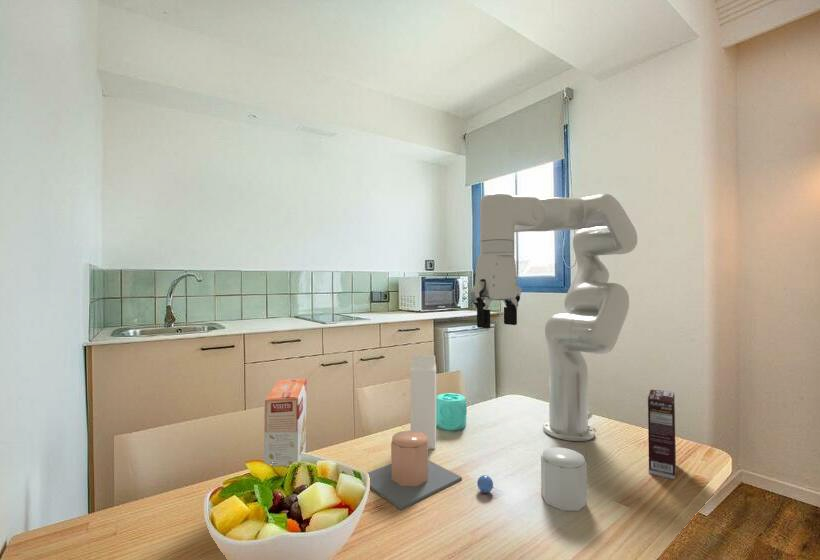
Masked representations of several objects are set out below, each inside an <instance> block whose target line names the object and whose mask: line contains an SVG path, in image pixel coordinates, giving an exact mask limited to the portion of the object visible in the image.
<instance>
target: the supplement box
mask: <svg viewBox="0 0 820 560" xmlns="http://www.w3.org/2000/svg"><path fill="white" fill-rule="evenodd" d="M675 404H676V403H675V392H674V391H665V390H659V389H650V390H649V394H648V396H647V419H648V420H647V423H648V424H647V426H648V433H647V434H648V438H647V439H648V474H650V475H652V476H653V475H655V476H658V477H662V478H666V479H670V480H676V470H677V469H676V466H677V465H676V464H677V460H676V459H677V458H676V456H677V453H676V451H677V450H676V449H677V448H676V407H675V406H676V405H675Z"/></svg>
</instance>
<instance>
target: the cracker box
mask: <svg viewBox="0 0 820 560" xmlns="http://www.w3.org/2000/svg"><path fill="white" fill-rule="evenodd" d="M307 382H308V381H307V379H306V378H288V379H285V378H284V379H278V380H277V381H276V383H275V384H274V386H273V387H272V389H271V390H270V392H269V393H268V394H267V396H266V398H264V417H263V419H264V426H263V427H264V428H263V430H264V431H263V432H264V434H263V435H264V436H263V437H264V439H263V442H264V443H263V448H264V449H263V463H264V462H265V463H268V464H272V466H287V467H288V466H289V465H291V464H292V463H294V462H299V461H300V458H301V454H302V453H301V452H304V453H306V452H307V451H306V448H307V447H306V444H307V443H306V442H307V441H306V439H307V437H306V435H307V426H306V425H307ZM272 462H273V463H272Z"/></svg>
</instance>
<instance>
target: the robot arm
mask: <svg viewBox="0 0 820 560" xmlns="http://www.w3.org/2000/svg"><path fill="white" fill-rule="evenodd" d="M479 222H480V223H479V232H480V233H479V248H480V251H479V255H478V257H477V260H476V261H477V262H476V267H475V268H476V269H475V276H474V280H475V281H474V285H473V286H472V287H471V288H470V289H469V293H470V296H471V299H472V304H474V309H475V310H476V327H477V328H479V329H491V309H489V307H490V306H491V304H492V302H493V301H503V303H504V305H505V306H504V307H503V323H504V324H503V325H510V326H516V325H517V324H518V308H519V302H520V300H521V294H522V290H523V289H522V287H521V286H520V285H518V279H517V274H518V273H517V266H516V260H515V233H522V232H524V233H525V232H552V231H553V232H554V231H574V230H575V231H576V230H577V231H576V232H575V234H574V236H572V237H573V238H572V248H573V251H574V256H575V259H576V260H575V261H576V264H577V265H576V266H577V271H576V273H575V276H574V278H573V280H572V282H571V284H570V286H569V288H568V291H567V293H566V295H565V298H564V302H563V303H564V308H565V310H566V312H568V313H563V312H561V313H557V314H553V315H552V316H550V317H549V318H548V319H547V320H546V323H545V325H544V334H545V335H544V336H545V339H546V345H547V350H548V352H547V353H548V364H549V365H548V374H549V375H548V377H549V378H548V379H549V380H548V382H549V384H548V390H549V391H548V393H549V394H548V395H549V396H548V397H549V399H548V400H549V401H548V403H549V405H548V406H549V412H548V413H549V418H548V419H549V420H548V421H545V422H544V423H543V424H542V425H543V431H544V432H545V433H546V434H547V435H549V436H550V437H553V438H556V439H560V440H564V441H571V442H586V441H590V440H592V439H593V438H594V437H595V429H593V428H592V427H591V426H589V420H590V419H592V417H593V414H592V412H591V411H589V403H588V402H589V401H588V400H589V391H588V390H589V385H588V383H589V381H588V380H589V379H588V378H589V375H588V373H589V372H588V365H587V362H586V359H585V358H584V355H583V354H582V352H583V353H588V354H595V355H607V354H609V353H610V352H612V351H613V350H614V348H615V346H616V345H617V342H618V340H619V336H620V334H621V331H622V328H623V326H624V323H625V321H626V319H627V315H628V312H629V308H630V296H629V292H628V290H627V289H626V287H624V286H623V285H621V284H619V283H615V282H609V279H610V273H609V270H608V268H607V267H606V265H605V264H604V263H603V262H602V261H601V259H600V258H599V256H610V255H611V256H612V255H624V254H628V253H631V252H633V251H634V250H635V249H636V247H637V246H638V245H637V244H638V234H637V233H638V232H637V230H636V228H635V225H634V224H633V222H632V221H631V219H630V217H629V215H628V214H627V212H626V211H625V208H623V206H622V205H621V203H620V202H619V201H618V199H616V197H614V196H613V195H612V194H610V193H601V194H596V195H591V196H585V197H558V196H557V197H546V198H541V199H539V198H537V197H535V196H531V195H511V194H510V193H505V192H495V193H488V194H485V195H484V196H482V197H481V199H480V202H479Z"/></svg>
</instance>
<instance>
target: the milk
mask: <svg viewBox="0 0 820 560" xmlns="http://www.w3.org/2000/svg"><path fill="white" fill-rule="evenodd" d="M436 359H437V358H436V355H435V354H434V355H432V354H431V355H430V354H412V355H411V365H410V372H409V373H410V374H409V375H410V378H409V380H410V383H409V384H410V390H409V392H410V408H409V409H410V412H409V413H410V431H418V432H422V433H424V434H426V435H427V437H428V450H431V449H432V450H435V449H436V446H437V445H436V443H437V425H436V398H437V363H436Z"/></svg>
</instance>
